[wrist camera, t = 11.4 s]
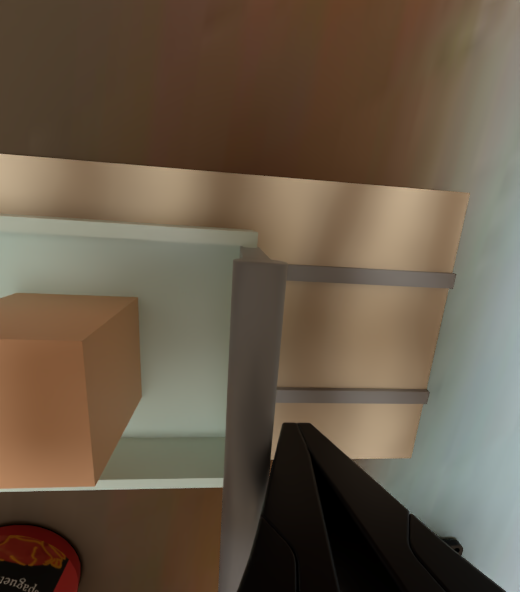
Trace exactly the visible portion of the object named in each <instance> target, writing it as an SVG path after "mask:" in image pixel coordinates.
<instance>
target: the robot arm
mask: <svg viewBox="0 0 520 592" xmlns="http://www.w3.org/2000/svg"><path fill="white" fill-rule="evenodd" d="M462 552H463V547H462V546H461V544H460V543H459V542H458V541H457V540H441V539H440V538H439V537H438V536H437V535H436V534H435V533H433V532H432V531H431V530H430V529H429V528H428V527H426V526H425V525H424V524H423V523H422V522H421V521H420V520H419V519H417V518H416V517H415V516H414V515H413V514H410V515H409V511H408V510H407V509H406V508H405V507H404V506H403V505H402V504H401V503H399V502H398V501H397V500H396V499H395V498H394V497H393V496H392V495H390V494H389V493H388V492H387V491H386V490H385V489H384V488H383V487H381V486H380V485H379V484H378V483H377V482H376V481H375V480H374V479H373V478H371V477H370V476H369V475H368V474H367V473H366V472H365V471H364V470H362V469H361V468H360V467H359V466H358V465H357V464H356V463H355V462H354V461H352V460H351V459H350V458H349V457H348V456H347V455H346V454H345V453H343V452H342V451H341V450H340V449H339V448H338V447H337V446H336V445H335V444H333V443H332V442H331V441H330V440H329V439H328V438H327V437H326V436H324V435H323V434H322V433H321V432H320V431H319V430H318V429H317V428H315V427H314V426H313V425H312V424H311V423H300V422H298V423H294V422H284V423H283V424H282V426H281V431H280V435H279V439H278V443H277V447H276V451H275V455H274V460H273V464H272V468H271V472H270V476H269V480H268V485H267V489H266V493H265V497H264V501H263V505H262V510H261V514H260V519H259V521H258V525H257V530H256V534H255V538H254V541H253V545H252V548H251V552H250V555H249V559H248V561H247V564H246V567H245V570H244V573H243V576H242V578H241V581H240V584H239V587H238V589H237V592H506V591H505V590H504V589H502V588H501V587H500V586H498V585H497V584H496V583H495V582H493V581H492V580H491V579H489V578H488V577H487V576H486V575H484V574H483V573H482V572H481V571H479V570H478V569H477V568H476V567H474V566H473V565H472V564H471V563H469V562H468V561H467V560H466V559H464V558H463V557H462V556H461V555H462Z"/></svg>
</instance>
